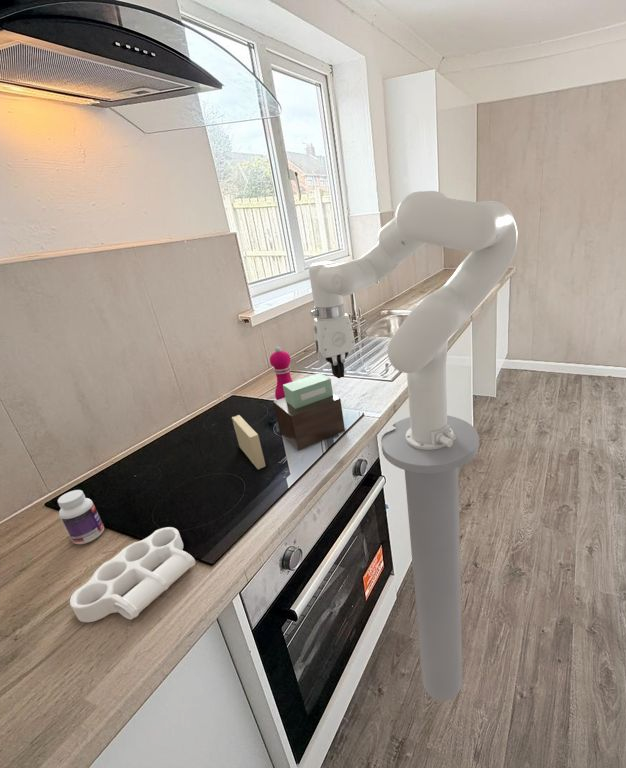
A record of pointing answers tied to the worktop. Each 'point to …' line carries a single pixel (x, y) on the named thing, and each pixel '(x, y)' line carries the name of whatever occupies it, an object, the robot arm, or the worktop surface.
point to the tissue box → (308, 390)
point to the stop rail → (249, 441)
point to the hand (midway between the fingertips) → (339, 376)
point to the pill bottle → (80, 517)
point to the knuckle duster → (133, 577)
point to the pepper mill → (281, 370)
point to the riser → (309, 421)
